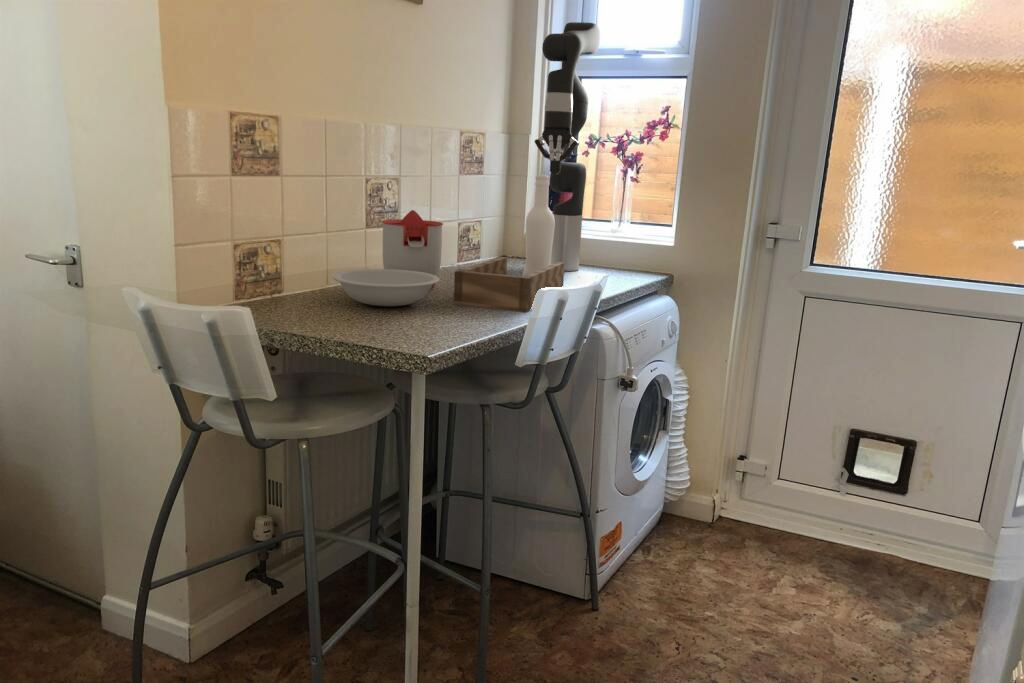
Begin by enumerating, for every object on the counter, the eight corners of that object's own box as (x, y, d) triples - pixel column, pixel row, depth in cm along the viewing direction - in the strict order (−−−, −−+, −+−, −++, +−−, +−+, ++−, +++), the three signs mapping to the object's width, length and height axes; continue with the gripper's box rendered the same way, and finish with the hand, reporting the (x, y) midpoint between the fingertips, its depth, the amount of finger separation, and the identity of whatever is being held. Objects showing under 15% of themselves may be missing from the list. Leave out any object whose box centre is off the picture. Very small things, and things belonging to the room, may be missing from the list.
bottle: (552, 284, 225) (558, 175, 218) (550, 288, 217) (557, 175, 210) (523, 282, 226) (529, 173, 219) (520, 287, 218) (526, 174, 211)
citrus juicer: (383, 293, 198) (384, 212, 193) (378, 282, 214) (379, 206, 210) (446, 294, 202) (449, 214, 197) (437, 282, 218) (438, 208, 214)
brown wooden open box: (498, 285, 218) (500, 257, 217) (562, 292, 213) (564, 262, 211) (453, 304, 189) (454, 271, 187) (526, 312, 183) (528, 278, 182)
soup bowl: (460, 308, 184) (461, 280, 183) (372, 319, 168) (373, 288, 166) (397, 292, 201) (397, 266, 199) (312, 301, 184) (312, 272, 183)
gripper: (585, 112, 223) (581, 175, 227) (539, 110, 227) (536, 173, 231) (578, 110, 216) (574, 176, 220) (531, 109, 220) (528, 173, 224)
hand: (554, 174), depth 226 cm, fingers closed
